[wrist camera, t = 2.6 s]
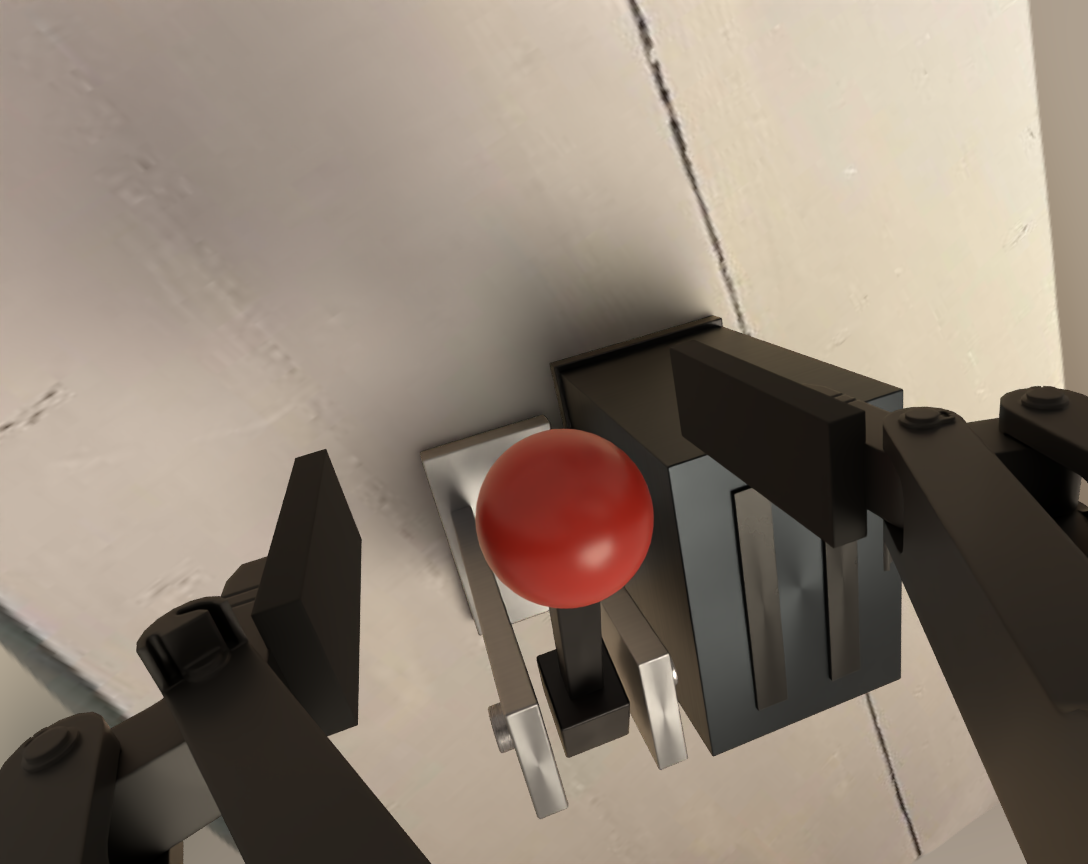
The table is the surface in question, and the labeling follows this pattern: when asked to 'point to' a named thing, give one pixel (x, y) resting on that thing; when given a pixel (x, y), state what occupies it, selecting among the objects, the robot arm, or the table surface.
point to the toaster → (739, 549)
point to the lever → (569, 563)
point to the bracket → (497, 607)
